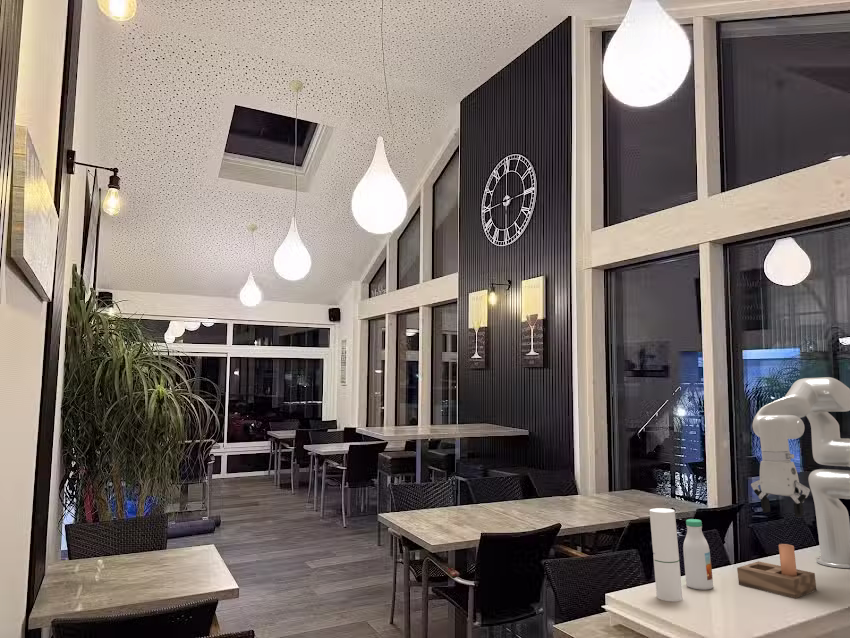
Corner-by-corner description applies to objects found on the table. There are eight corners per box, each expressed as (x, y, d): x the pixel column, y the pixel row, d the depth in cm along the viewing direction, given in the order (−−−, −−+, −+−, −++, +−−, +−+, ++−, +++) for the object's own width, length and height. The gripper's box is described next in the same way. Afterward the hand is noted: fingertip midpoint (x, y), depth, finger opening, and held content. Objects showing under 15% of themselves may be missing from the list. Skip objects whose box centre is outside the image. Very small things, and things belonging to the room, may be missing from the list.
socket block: (760, 577, 194) (758, 561, 195) (816, 590, 180) (814, 572, 180) (738, 584, 188) (737, 567, 189) (795, 598, 173) (793, 580, 174)
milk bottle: (702, 591, 182) (695, 523, 185) (680, 585, 189) (675, 519, 192) (718, 587, 186) (712, 520, 188) (697, 581, 192) (691, 516, 195)
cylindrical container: (678, 593, 181) (670, 508, 185) (685, 601, 174) (678, 512, 178) (653, 593, 182) (646, 508, 185) (660, 601, 175) (653, 512, 178)
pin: (787, 584, 183) (782, 543, 185) (800, 587, 180) (796, 545, 181) (780, 586, 181) (775, 545, 183) (794, 590, 178) (789, 548, 179)
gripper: (811, 457, 180) (819, 516, 178) (755, 454, 195) (761, 509, 193) (798, 459, 176) (805, 520, 174) (741, 456, 191) (747, 511, 189)
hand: (782, 514), depth 183 cm, fingers open, 9 cm apart
